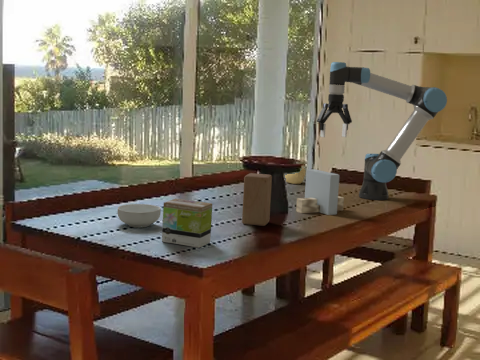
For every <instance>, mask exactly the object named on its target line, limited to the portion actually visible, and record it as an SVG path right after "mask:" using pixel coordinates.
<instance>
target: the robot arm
mask: <svg viewBox="0 0 480 360" xmlns="http://www.w3.org/2000/svg"><path fill="white" fill-rule="evenodd" d="M345 83H350V84H351V83H352V84H355V85H359V86H362V87H365V88H368V89H371V90H375V91H377V92H380V93H383V94H386V95H389V96H393V97H396V98H397V99H398V98H399V99H401V100H403V101H404V100H405V103H407V104H411V105H413V111H412V112H411V114H410V115H409V117H408V118H407V120H406V121H405V122H404V124H403V125H402V126H401V128H400V129H399V131H398V132H397V133H396V135H395V136H394V137H393V139H392V140H391V142H390V143H389V145H388V147H387V148H386V149H384V150H381V151H380V152H379V153H365V157H364V168H363V180H362V181H363V182H362V185H361V186H360V189H359V191H358V197H360V198H362V199H365V200H373V201H387V200H388V199H389V191H388V187H387V183H389V182H391V181H392V180H394V179H395V177H396V176H397V171H398V170H399V169H398V168H399V167H400V166H401V165H402V163H401V159H402V158H403V157H404V155H405V154H406V152H407V151H408V149H409V148H410V147H411V145H412V144H413V142H414V141H415V140H416V139H417V137H418V135H419V134H420V133H421V131H422V130H423V129H424V127H425V125H427V123H428V121H430V120H433V119H434V118H435V117H437V115H438V113H439V112H441V111H443V110H444V109H445V107H446V106H447V102H448V99H447V94H446V93H445V91H443V90H442V89H441V88H438V87H436V86H435V87H434V86H433V87H429V86H419V85H416V84H412V85H409V84H405V83H402V82H400V81H397V80H394V79H391V78H388V77H384V76H382V75H378V74H375V73H371V70H370V68H369V67H363V66H362V67H360V66H348V65H347V62H343V61H342V62H341V61H332V62H331V64H330V68H329V84H328V85H329V86H328V93H329V94H328V99H327V101H328V103H327V102H326V103H324V102H323V104H322V108H321V111H320V112H319V115H318V116H317V119H316V122H317V123H318V124H319V130H320V135H319V137H321V138H326V121H328V119H329V117H330V116H331V115H332V114H338V115H339V116H340V118H341V120H342V122H343V123H342V128H341V129H342V131H341V137H342V138H347V136H348V135H347V133H348V132H347V131H348V129H349V125H350V124H351V123H352V122H353V120H352V117H351V114H350V111H349V104H348V103H344V102H345V101H344V100H345V99H344V98H345V95H344V94H345V88H346V87H345V85H346V84H345Z"/></svg>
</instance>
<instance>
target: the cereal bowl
mask: <svg viewBox="0 0 480 360" xmlns="http://www.w3.org/2000/svg"><path fill="white" fill-rule="evenodd" d="M161 210H162V209H161V207H160V206H159V205H154V204H147V203H146V204H145V203H142V204H141V203H133V204H131V203H130V204H129V203H128V204H123V205H119V206H118V207H117V217H118V219H119V220H120V222H122V223H124V224H126V225H128V226H129V227H131V228H146V227H149V226H150V225H151V224H154V223H156V222H158V220H159V219H160V217H161Z"/></svg>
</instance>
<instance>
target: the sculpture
mask: <svg viewBox="0 0 480 360" xmlns="http://www.w3.org/2000/svg"><path fill="white" fill-rule="evenodd" d="M306 170H307V169H305V168H304V167H302V170H301V171H300V172H299V173H295V174H287V175H285V178H286V181H285V182H286V183H288V184H293V185H300V184H301V183H303V182H304V179H305V178H306Z"/></svg>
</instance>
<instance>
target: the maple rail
mask: <svg viewBox="0 0 480 360" xmlns="http://www.w3.org/2000/svg"><path fill="white" fill-rule="evenodd" d="M344 205H345V197H343V196H339V195H338V203H337V212H339V211H341V212H342V211H344ZM295 209H296V210H295V212H297V213H300V214H311V213H320V205H317V199H315V198H305V197H301V198H297V197H296V208H295Z"/></svg>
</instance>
